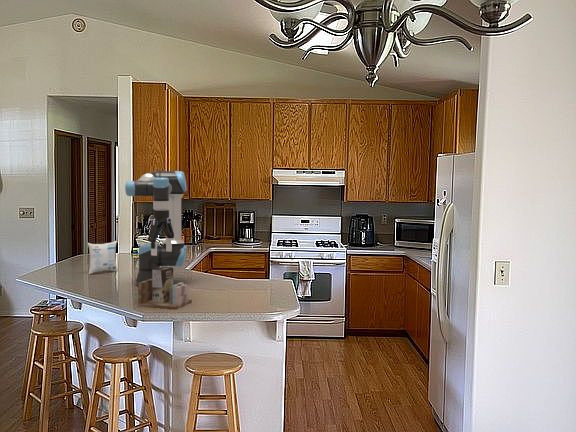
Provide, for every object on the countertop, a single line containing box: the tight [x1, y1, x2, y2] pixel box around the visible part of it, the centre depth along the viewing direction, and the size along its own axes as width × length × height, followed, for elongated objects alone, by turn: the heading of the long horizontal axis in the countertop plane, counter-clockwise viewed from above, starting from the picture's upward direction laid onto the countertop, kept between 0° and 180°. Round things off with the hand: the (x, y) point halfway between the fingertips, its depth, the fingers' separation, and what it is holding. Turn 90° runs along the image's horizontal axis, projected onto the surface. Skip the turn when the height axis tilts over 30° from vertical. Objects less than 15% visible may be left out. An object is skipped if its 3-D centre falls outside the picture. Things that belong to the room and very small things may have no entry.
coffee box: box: [152, 266, 174, 303], centre depth 268 cm, size 9×6×16 cm
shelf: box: [137, 279, 193, 310], centre depth 267 cm, size 16×20×11 cm
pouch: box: [86, 240, 118, 275], centre depth 347 cm, size 8×19×20 cm, turn 128°
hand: (161, 253), depth 266 cm, fingers open, 13 cm apart
